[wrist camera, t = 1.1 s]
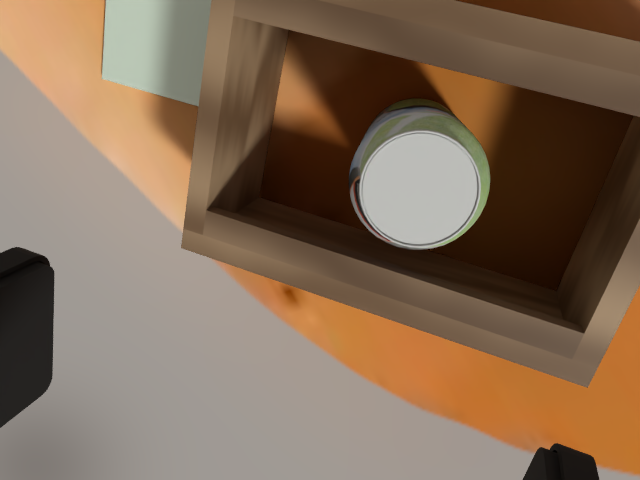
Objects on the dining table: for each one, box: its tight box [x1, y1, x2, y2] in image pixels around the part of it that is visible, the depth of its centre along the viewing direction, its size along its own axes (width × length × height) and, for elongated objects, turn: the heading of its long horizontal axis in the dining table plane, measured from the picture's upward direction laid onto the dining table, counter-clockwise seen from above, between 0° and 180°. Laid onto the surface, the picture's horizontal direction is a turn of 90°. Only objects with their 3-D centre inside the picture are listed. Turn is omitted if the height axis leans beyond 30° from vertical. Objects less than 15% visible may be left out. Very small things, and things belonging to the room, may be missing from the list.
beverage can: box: [349, 98, 490, 250], centre depth 28 cm, size 6×7×12 cm
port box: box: [181, 0, 640, 388], centre depth 30 cm, size 15×22×8 cm
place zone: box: [102, 0, 211, 106], centre depth 35 cm, size 9×9×1 cm
